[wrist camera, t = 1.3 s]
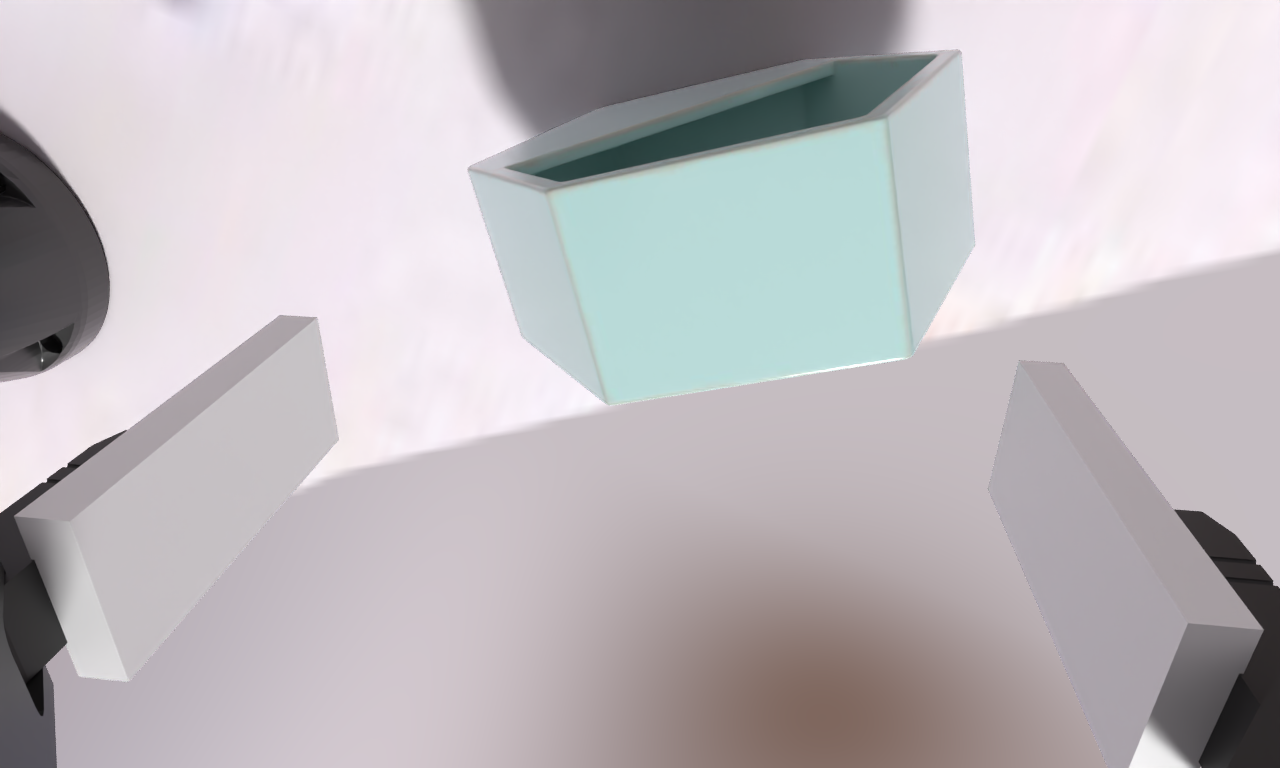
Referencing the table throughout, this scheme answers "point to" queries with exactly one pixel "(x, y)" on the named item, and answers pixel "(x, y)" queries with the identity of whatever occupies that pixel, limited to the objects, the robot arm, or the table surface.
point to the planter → (739, 225)
